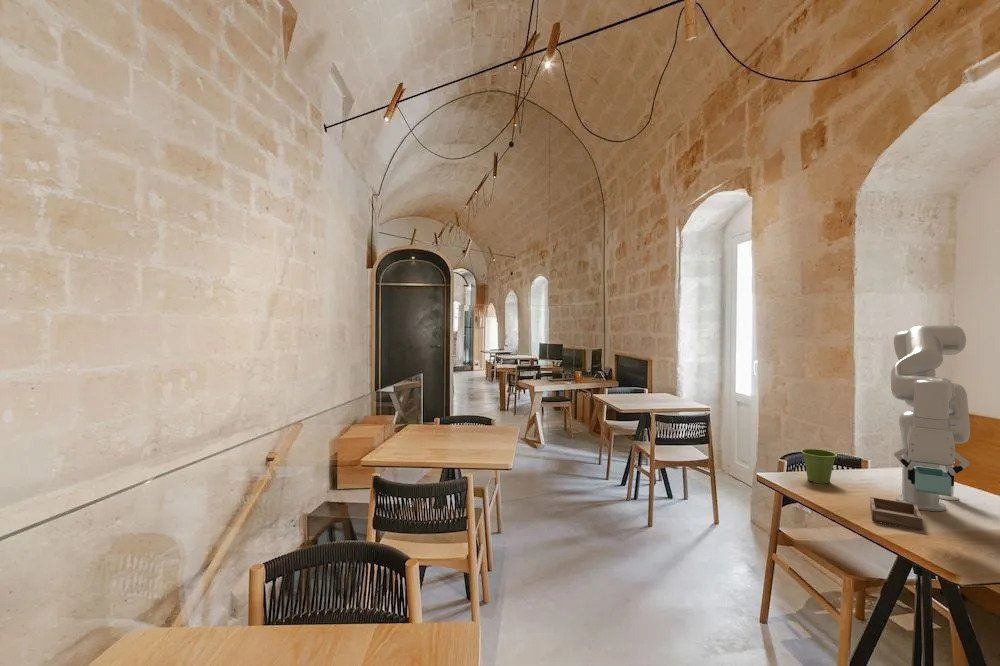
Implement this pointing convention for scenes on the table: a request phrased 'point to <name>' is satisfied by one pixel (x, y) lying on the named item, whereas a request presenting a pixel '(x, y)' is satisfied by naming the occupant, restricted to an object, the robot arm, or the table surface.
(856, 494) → the table surface
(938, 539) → the table surface
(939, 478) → the teal crate
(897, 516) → the walnut crate
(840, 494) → the table surface
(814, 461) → the plant pot
